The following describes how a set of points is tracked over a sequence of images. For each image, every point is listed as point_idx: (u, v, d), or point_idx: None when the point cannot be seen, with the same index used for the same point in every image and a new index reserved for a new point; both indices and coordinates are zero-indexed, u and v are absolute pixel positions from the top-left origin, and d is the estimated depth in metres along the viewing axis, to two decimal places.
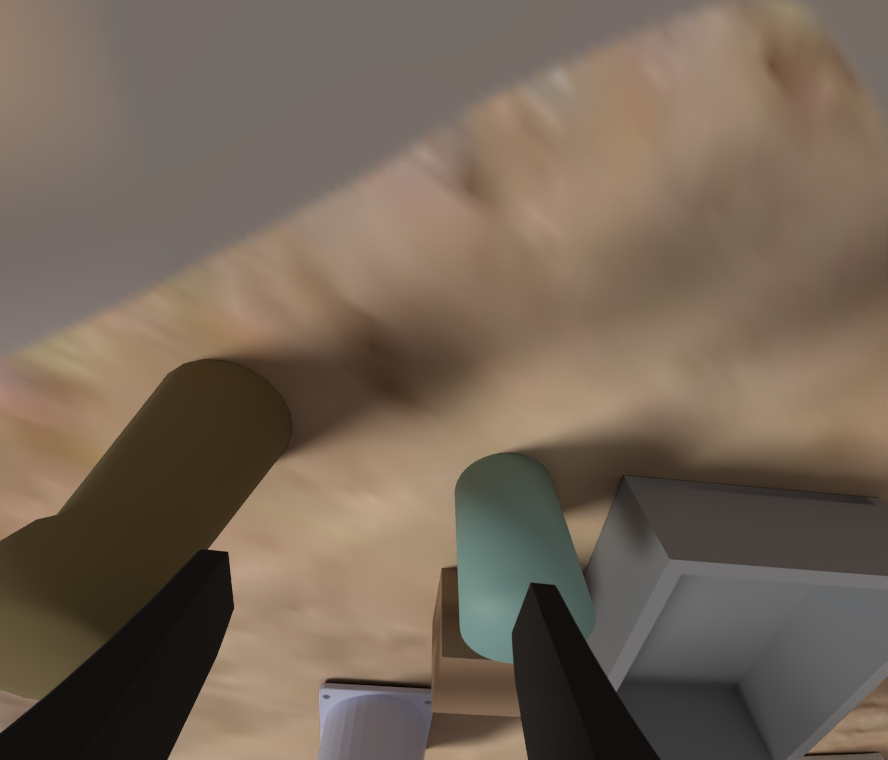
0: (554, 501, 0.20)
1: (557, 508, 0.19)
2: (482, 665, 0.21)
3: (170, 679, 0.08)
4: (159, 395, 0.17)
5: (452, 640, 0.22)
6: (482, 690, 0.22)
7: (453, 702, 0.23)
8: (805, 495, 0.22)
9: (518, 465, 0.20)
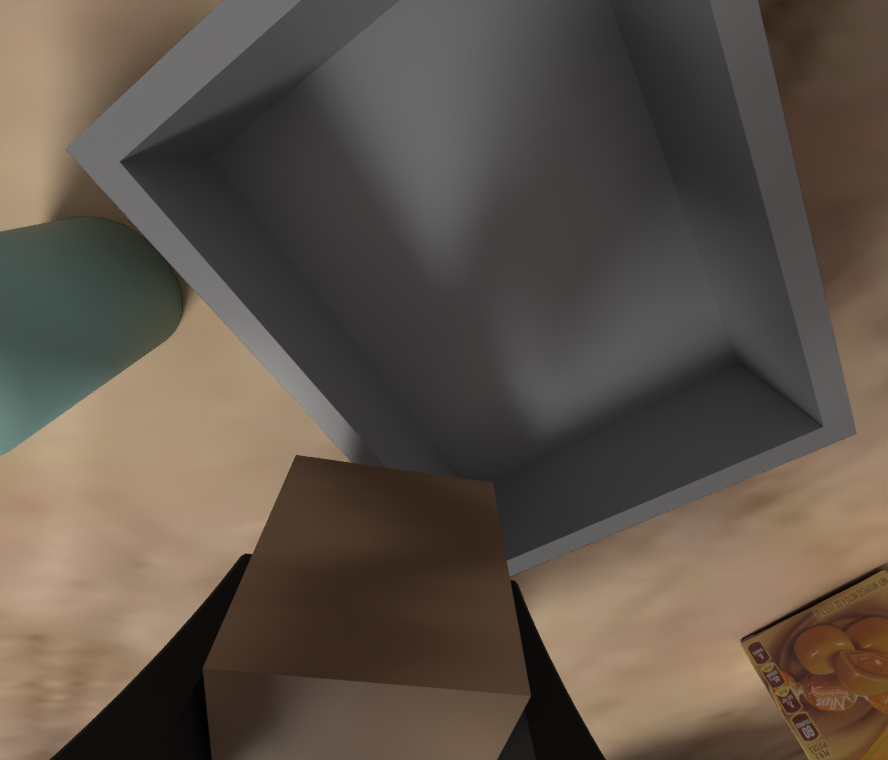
0: (40, 228, 0.13)
1: (33, 231, 0.13)
2: None
3: None
4: None
5: None
6: None
7: None
8: None
9: None
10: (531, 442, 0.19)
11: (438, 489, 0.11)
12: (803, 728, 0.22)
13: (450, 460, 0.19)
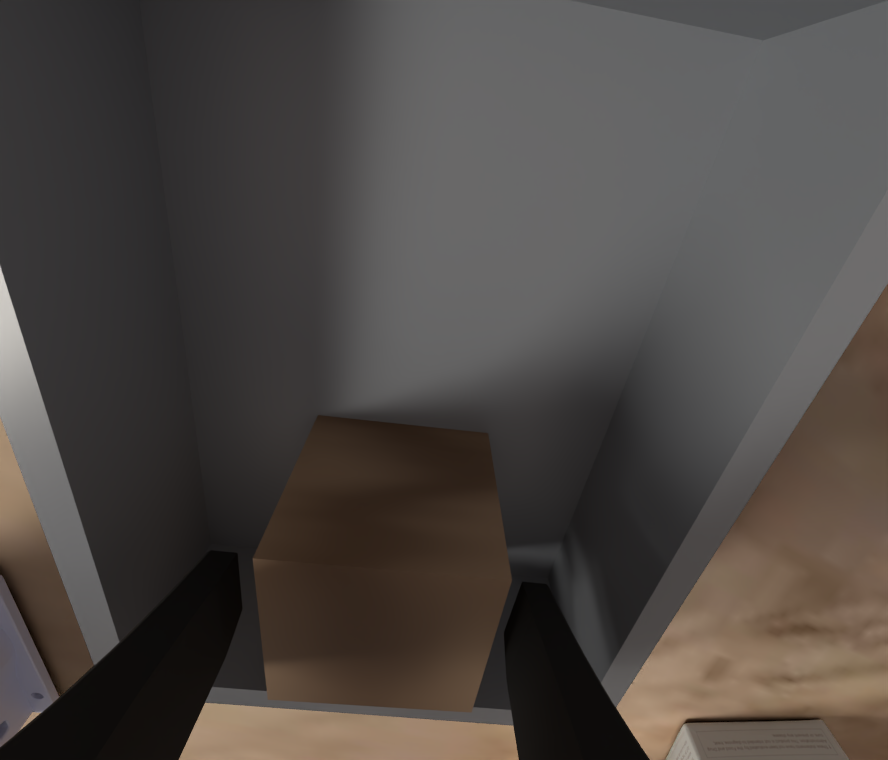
0: None
1: None
2: (286, 651, 0.10)
3: (181, 680, 0.08)
4: None
5: None
6: (384, 649, 0.10)
7: (433, 686, 0.10)
8: None
9: None
10: None
11: (439, 438, 0.13)
12: None
13: (208, 501, 0.14)
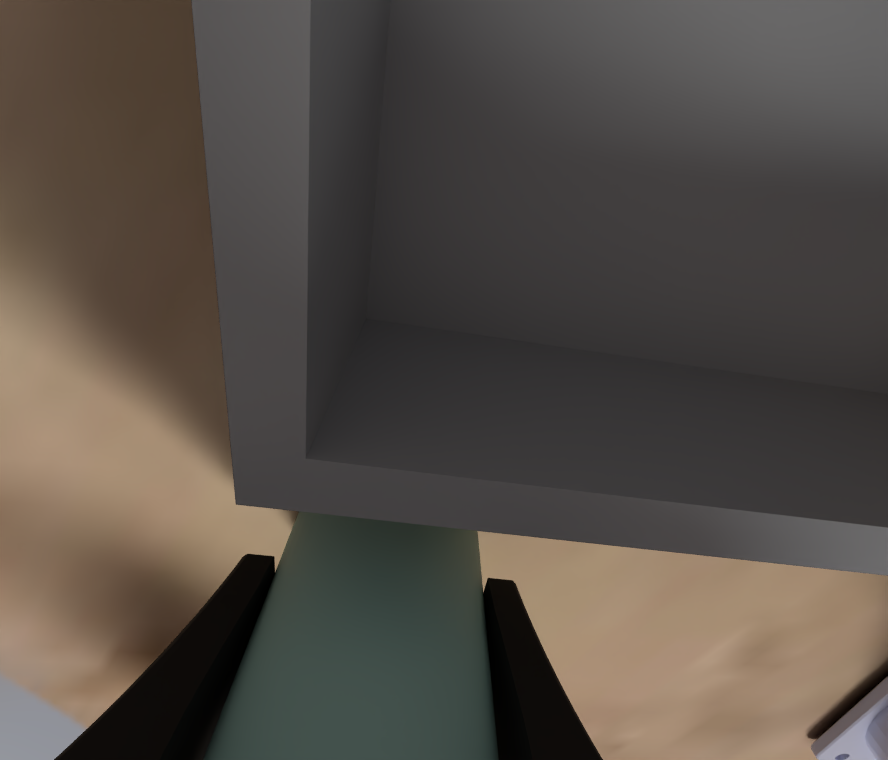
0: (293, 557, 0.09)
1: (290, 571, 0.09)
2: None
3: (226, 683, 0.08)
4: None
5: None
6: None
7: None
8: None
9: None
10: None
11: None
12: None
13: None
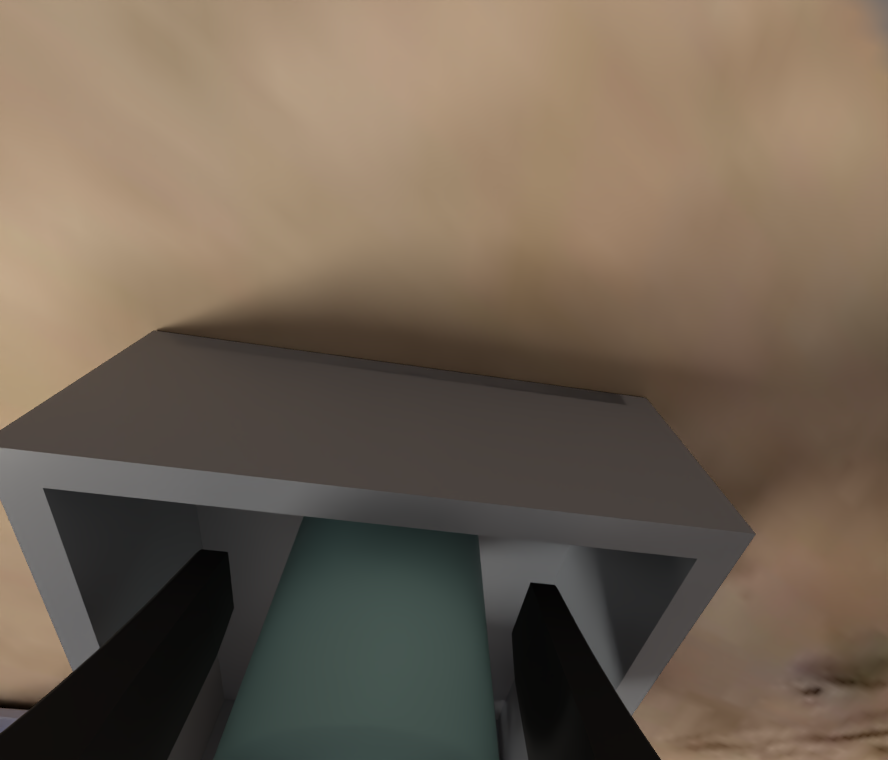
0: None
1: (323, 523, 0.10)
2: None
3: (170, 679, 0.08)
4: None
5: None
6: None
7: None
8: (501, 384, 0.12)
9: None
10: None
11: None
12: None
13: (223, 673, 0.18)
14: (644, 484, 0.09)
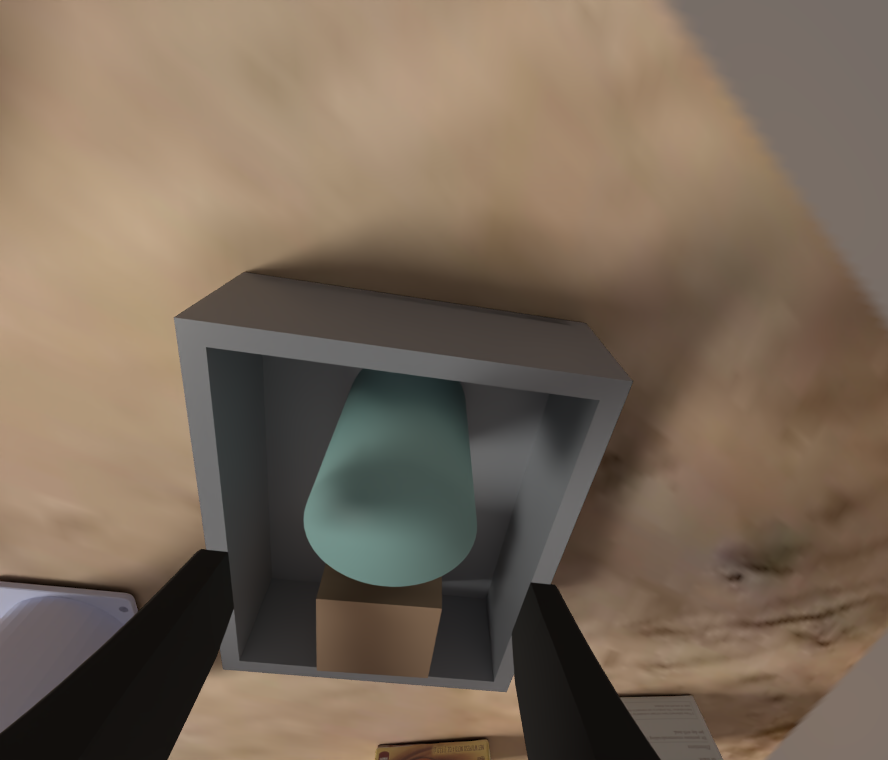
0: (362, 389, 0.16)
1: (362, 393, 0.16)
2: (328, 644, 0.19)
3: (170, 679, 0.08)
4: None
5: None
6: (379, 643, 0.19)
7: (405, 663, 0.19)
8: (483, 310, 0.17)
9: None
10: None
11: None
12: None
13: (272, 553, 0.23)
14: (569, 359, 0.14)
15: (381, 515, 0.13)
